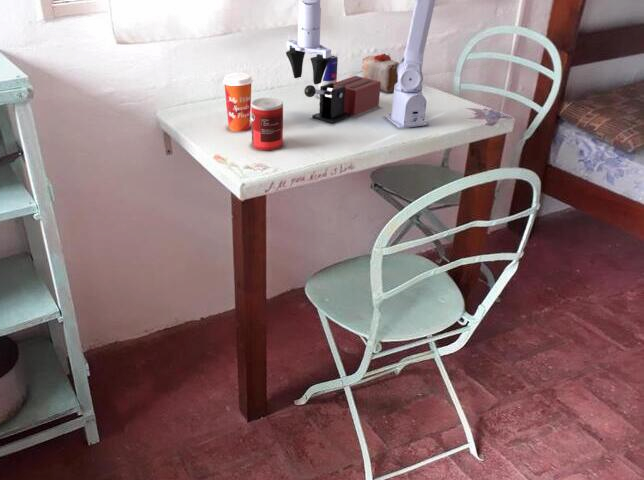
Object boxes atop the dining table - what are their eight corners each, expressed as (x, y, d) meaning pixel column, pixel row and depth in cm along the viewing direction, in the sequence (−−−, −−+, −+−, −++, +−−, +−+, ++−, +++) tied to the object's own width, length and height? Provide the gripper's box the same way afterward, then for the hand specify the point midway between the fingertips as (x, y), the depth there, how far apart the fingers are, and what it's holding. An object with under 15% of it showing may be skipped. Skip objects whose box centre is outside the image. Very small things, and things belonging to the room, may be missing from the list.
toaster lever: (309, 98, 171) (311, 86, 170) (300, 95, 173) (303, 83, 172) (338, 99, 180) (341, 88, 178) (330, 97, 181) (332, 86, 180)
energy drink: (336, 99, 196) (338, 58, 190) (318, 99, 196) (320, 58, 190) (334, 93, 201) (336, 53, 194) (317, 94, 201) (318, 53, 194)
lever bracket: (331, 124, 178) (333, 92, 174) (312, 118, 183) (313, 87, 178) (350, 117, 183) (352, 85, 178) (331, 111, 187) (332, 80, 182)
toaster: (354, 118, 182) (355, 90, 178) (328, 110, 188) (329, 83, 184) (379, 108, 188) (381, 81, 184) (353, 101, 194) (355, 74, 190)
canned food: (264, 137, 172) (263, 95, 166) (289, 143, 168) (289, 101, 162) (245, 146, 167) (244, 103, 161) (271, 153, 163) (270, 109, 157)
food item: (356, 83, 208) (358, 51, 203) (376, 79, 211) (379, 47, 206) (385, 94, 198) (388, 61, 193) (405, 89, 201) (409, 56, 196)
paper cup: (229, 135, 175) (227, 81, 167) (221, 125, 181) (219, 73, 173) (257, 131, 176) (256, 78, 169) (249, 121, 182) (248, 70, 175)
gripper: (278, 25, 173) (278, 77, 181) (318, 34, 164) (315, 89, 171) (298, 21, 177) (297, 72, 184) (338, 30, 167) (335, 83, 175)
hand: (307, 80), depth 178 cm, fingers open, 7 cm apart
